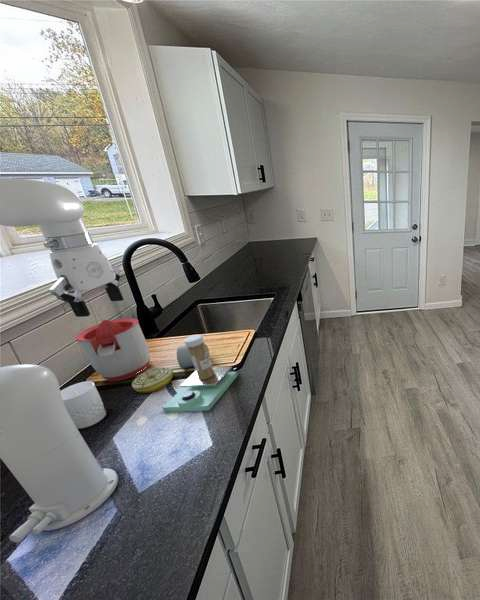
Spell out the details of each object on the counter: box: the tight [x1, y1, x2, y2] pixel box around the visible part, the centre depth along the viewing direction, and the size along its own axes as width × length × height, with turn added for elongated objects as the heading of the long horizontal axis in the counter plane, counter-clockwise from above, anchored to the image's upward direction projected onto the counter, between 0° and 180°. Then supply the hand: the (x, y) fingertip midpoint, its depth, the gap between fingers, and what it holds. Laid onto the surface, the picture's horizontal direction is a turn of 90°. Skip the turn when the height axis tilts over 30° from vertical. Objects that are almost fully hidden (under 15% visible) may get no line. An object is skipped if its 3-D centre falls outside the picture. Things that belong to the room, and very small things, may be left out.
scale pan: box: [180, 366, 233, 388], centre depth 97 cm, size 9×11×1 cm
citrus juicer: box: [75, 317, 151, 382], centre depth 103 cm, size 16×17×20 cm
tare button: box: [183, 391, 195, 401], centre depth 88 cm, size 3×3×1 cm
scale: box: [162, 371, 238, 413], centre depth 94 cm, size 16×13×3 cm
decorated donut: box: [131, 367, 174, 394], centre depth 99 cm, size 10×11×4 cm
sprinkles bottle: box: [184, 334, 215, 380], centre depth 94 cm, size 5×5×13 cm
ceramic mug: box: [176, 343, 210, 369], centre depth 110 cm, size 11×8×8 cm
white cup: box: [60, 380, 107, 430], centre depth 84 cm, size 8×8×10 cm
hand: (101, 307), depth 81 cm, fingers open, 9 cm apart
